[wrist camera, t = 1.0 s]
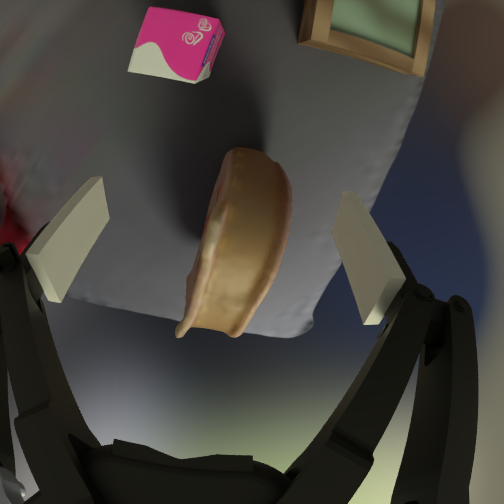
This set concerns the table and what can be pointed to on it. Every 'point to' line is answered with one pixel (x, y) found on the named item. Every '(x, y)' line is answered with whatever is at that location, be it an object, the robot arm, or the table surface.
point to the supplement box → (176, 45)
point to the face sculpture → (239, 243)
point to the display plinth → (372, 31)
